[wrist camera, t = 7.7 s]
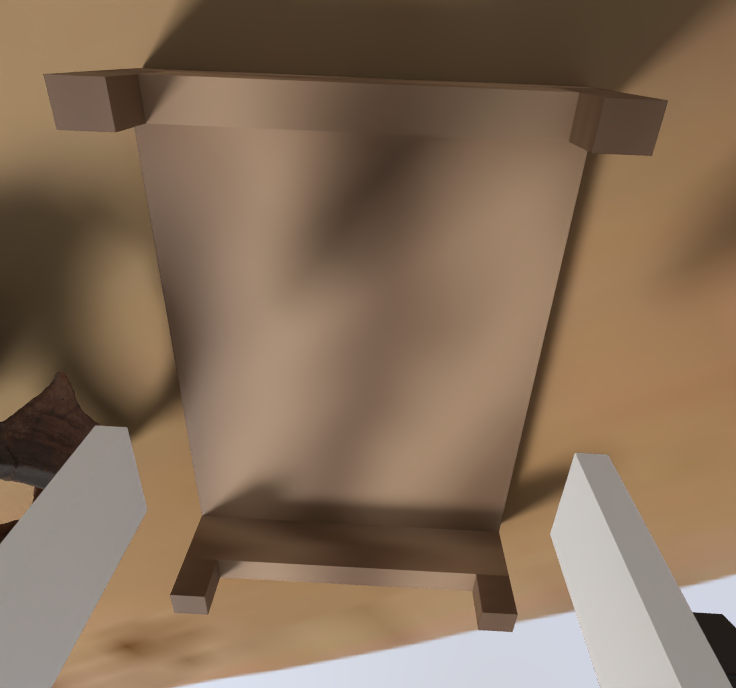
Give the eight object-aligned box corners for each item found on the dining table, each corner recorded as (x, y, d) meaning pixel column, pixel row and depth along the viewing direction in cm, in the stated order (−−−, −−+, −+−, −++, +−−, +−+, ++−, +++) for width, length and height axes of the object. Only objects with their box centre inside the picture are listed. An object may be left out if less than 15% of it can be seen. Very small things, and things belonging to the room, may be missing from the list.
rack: (212, 514, 22) (174, 612, 18) (141, 68, 14) (43, 73, 10) (490, 529, 22) (512, 631, 18) (588, 87, 14) (668, 100, 10)
